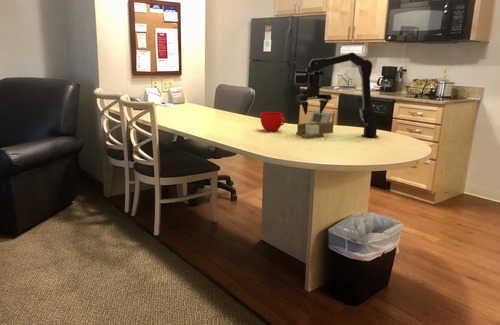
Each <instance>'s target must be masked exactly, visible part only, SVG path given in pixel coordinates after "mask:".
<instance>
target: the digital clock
mask: <svg viewBox="0 0 500 325" xmlns="http://www.w3.org/2000/svg"><path fill="white" fill-rule="evenodd" d="M331 116H332V113H331V112H330V111H325V110H323V111H322V113H320V109H313V110H312V113H311V115H310V118H309V120H308V121H309V122H308V123H320V122H330V120H331V118H332V117H331Z"/></svg>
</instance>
